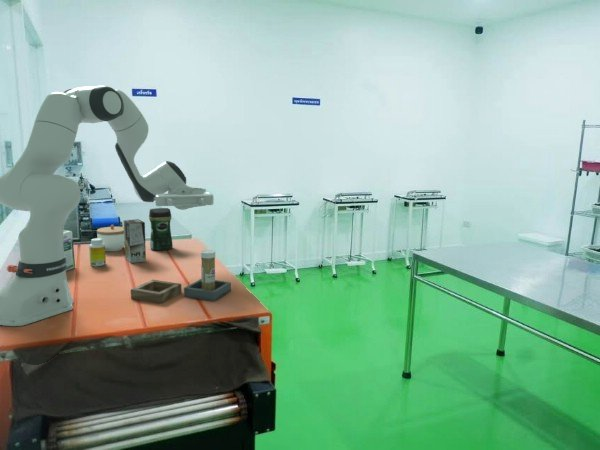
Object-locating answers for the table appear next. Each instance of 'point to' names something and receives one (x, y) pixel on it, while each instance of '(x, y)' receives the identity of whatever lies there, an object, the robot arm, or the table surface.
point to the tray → (198, 293)
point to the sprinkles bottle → (208, 270)
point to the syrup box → (68, 249)
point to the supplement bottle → (97, 252)
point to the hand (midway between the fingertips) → (187, 202)
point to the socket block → (147, 293)
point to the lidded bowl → (112, 237)
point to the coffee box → (134, 240)
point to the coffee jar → (160, 229)
